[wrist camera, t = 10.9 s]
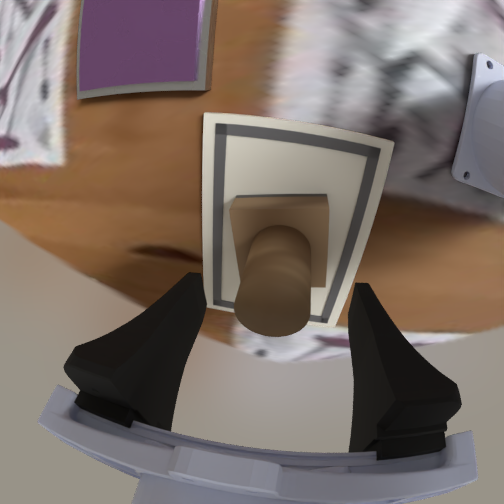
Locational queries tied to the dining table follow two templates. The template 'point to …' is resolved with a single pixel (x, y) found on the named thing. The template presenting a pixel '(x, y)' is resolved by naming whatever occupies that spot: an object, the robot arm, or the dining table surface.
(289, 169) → the marked card
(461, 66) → the dining table surface
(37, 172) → the dining table surface
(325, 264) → the stamp
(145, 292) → the dining table surface
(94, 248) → the dining table surface
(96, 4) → the ink pad
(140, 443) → the robot arm
